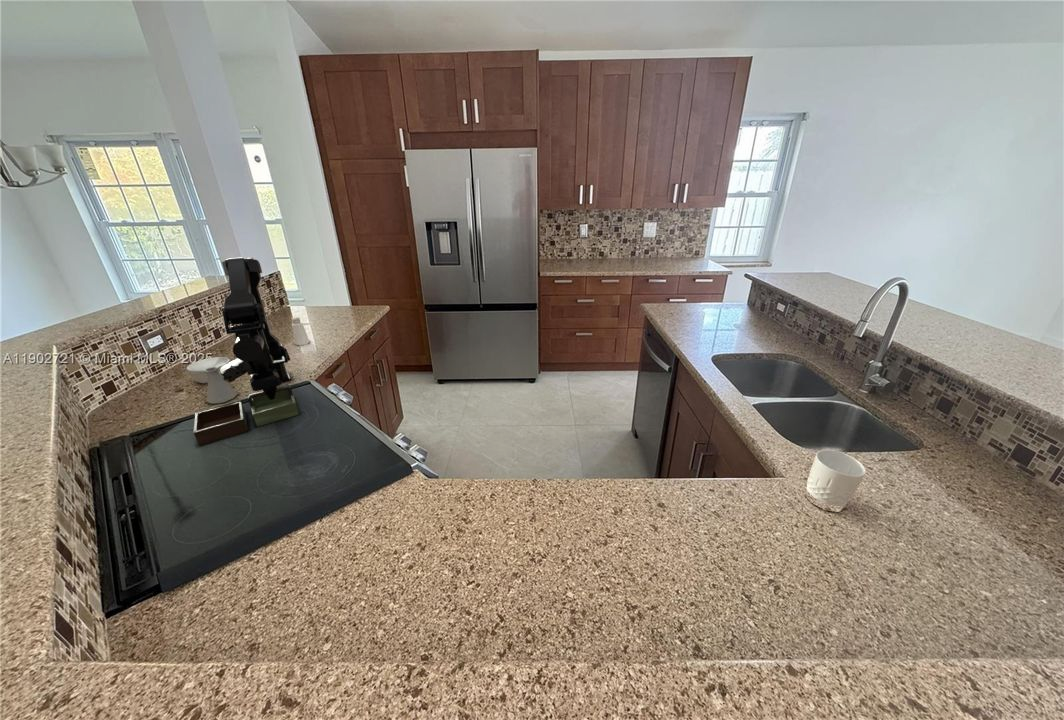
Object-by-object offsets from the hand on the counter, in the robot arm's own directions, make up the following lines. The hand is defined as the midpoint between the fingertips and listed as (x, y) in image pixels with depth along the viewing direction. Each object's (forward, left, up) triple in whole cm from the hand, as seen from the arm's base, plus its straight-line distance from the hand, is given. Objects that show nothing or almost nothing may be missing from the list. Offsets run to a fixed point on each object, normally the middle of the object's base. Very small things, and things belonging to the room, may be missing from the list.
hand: (271, 398), depth 104 cm
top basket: (0, 0, -4) cm, 4 cm away
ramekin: (-38, -14, -5) cm, 41 cm away
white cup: (+109, +85, -5) cm, 138 cm away
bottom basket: (+1, -12, -4) cm, 13 cm away
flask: (-19, -12, -5) cm, 23 cm away
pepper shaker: (-55, +15, -5) cm, 57 cm away
